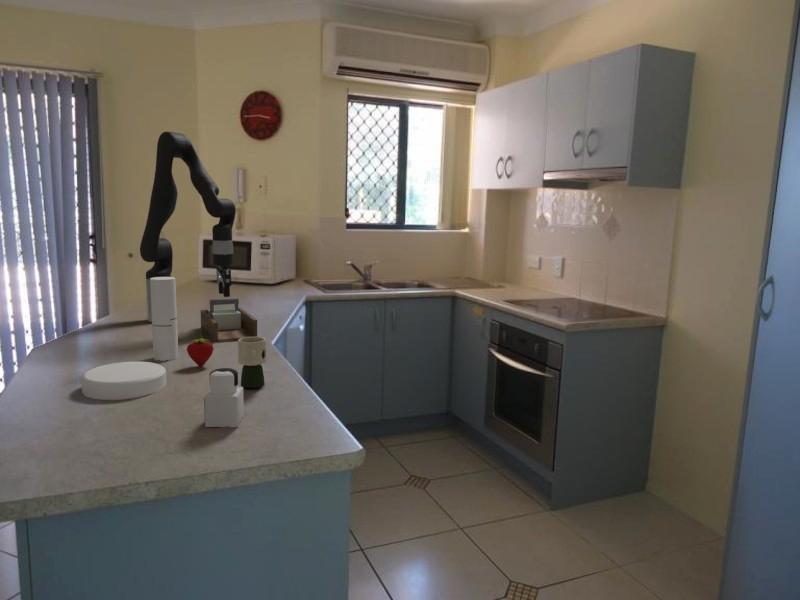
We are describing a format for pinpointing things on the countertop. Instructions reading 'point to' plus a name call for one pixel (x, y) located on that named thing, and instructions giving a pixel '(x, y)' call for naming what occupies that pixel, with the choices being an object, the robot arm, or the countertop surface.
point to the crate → (226, 314)
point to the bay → (231, 334)
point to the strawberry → (200, 351)
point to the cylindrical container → (164, 318)
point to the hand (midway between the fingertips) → (224, 295)
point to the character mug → (252, 360)
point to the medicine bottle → (223, 399)
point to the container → (123, 380)
